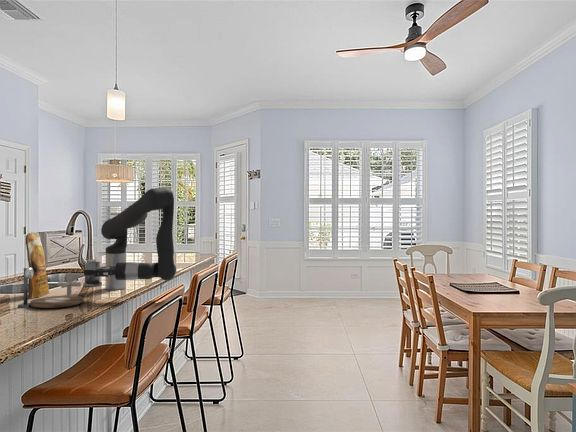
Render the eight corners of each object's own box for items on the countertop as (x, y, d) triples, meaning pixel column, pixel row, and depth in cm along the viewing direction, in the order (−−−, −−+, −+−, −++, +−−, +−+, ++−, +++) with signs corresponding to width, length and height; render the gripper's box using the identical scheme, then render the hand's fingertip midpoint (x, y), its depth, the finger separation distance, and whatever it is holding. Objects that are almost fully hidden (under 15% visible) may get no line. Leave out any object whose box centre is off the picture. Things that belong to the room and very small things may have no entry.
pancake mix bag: (19, 299, 189) (19, 233, 189) (37, 291, 208) (38, 231, 208) (36, 299, 190) (36, 233, 190) (53, 291, 209) (53, 231, 209)
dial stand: (22, 305, 177) (22, 267, 177) (33, 305, 178) (33, 267, 178) (17, 307, 173) (17, 268, 173) (28, 307, 174) (28, 268, 173)
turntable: (41, 300, 187) (41, 295, 187) (89, 299, 190) (89, 295, 190) (21, 310, 168) (21, 305, 168) (75, 309, 171) (75, 304, 171)
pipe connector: (86, 293, 204) (86, 271, 204) (73, 297, 194) (73, 274, 194) (65, 293, 205) (65, 271, 205) (51, 297, 195) (51, 274, 195)
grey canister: (86, 284, 193) (86, 258, 193) (103, 284, 194) (103, 258, 194) (80, 287, 186) (81, 260, 186) (99, 287, 187) (99, 260, 187)
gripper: (131, 260, 199) (90, 260, 196) (124, 264, 185) (81, 264, 182) (131, 277, 199) (90, 277, 197) (124, 282, 185) (81, 283, 182)
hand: (86, 271), depth 189 cm, fingers closed on grey canister, 5 cm apart
